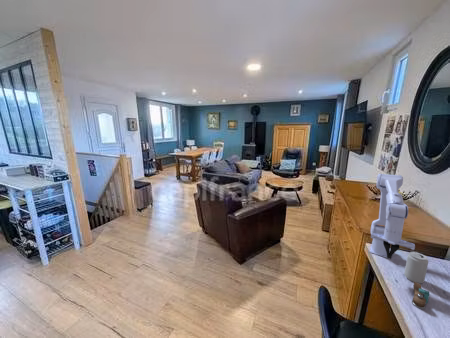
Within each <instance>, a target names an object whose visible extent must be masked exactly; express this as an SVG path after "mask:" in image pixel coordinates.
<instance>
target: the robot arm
mask: <svg viewBox="0 0 450 338" xmlns="http://www.w3.org/2000/svg"><path fill="white" fill-rule="evenodd" d="M403 183H404V177H403V176H402V175H401V174H398V175H397V174H385V173H378V174H377V176H376V189H378V190H379V191H380V200H379V210H378V211H379V212H378V218H377V219H374V220H372V222H371V226H370V239H372V242H371V244H370V250H369V252H370V253H371V254H374V255H377V256H381V257H383V258H386V259H389V260H391V259H392V257H393V255H394V254H395V253H396V252H397V251H399V250H400V246H401V247H404V248H407V249H410V250H412V251H414V250H415V248H416V245H415V243H412V242H409V241H406V240H404V239H402V235H403V230H404V223H405V220H406V219H408V216H409V207H408V205H407V204H406V203H405V202H404V198H403V195H402V193H400V192H399V190H400V188H401V187H402V186H403Z"/></svg>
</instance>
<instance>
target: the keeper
mask: <svg viewBox="0 0 450 338" xmlns="http://www.w3.org/2000/svg"><path fill="white" fill-rule="evenodd" d="M419 292H421V293H422V294H423V297H424V298H425V299H426V303H425V304H429V303H428V302H429V298H430V291H428V290H426V289H423V288H422V289H420V288H419Z"/></svg>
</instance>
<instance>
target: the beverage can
mask: <svg viewBox="0 0 450 338" xmlns="http://www.w3.org/2000/svg"><path fill="white" fill-rule="evenodd" d="M428 265H429V260H428V257H427V256H426V255H425V254H422V253H420V252H417V251H410V252H409V253H408V254H407V256H406V263H405V267H404V268H405V269H404V272H403V273H404V274H403V275H404V277H405V278H406V279H407V280H409V281H410V282H413V283H414V282H416V283H419V284H423V283H425V280H426V276H427V271H428Z"/></svg>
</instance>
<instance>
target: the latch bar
mask: <svg viewBox="0 0 450 338" xmlns="http://www.w3.org/2000/svg"><path fill="white" fill-rule="evenodd" d="M412 285H413V286H412V287H413V294H414V295H413V298H412V300H413V302H414V304H416V305H417V306H419V307H425V308H426V304H427V303H426V299H425V298H424V297H423V299H421V298H419V297H418V296H417V295H418V294H421V295H424V294H423V293H421V292H419V288H420V289H423V288H422V283H416V282H413V284H412Z"/></svg>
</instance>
